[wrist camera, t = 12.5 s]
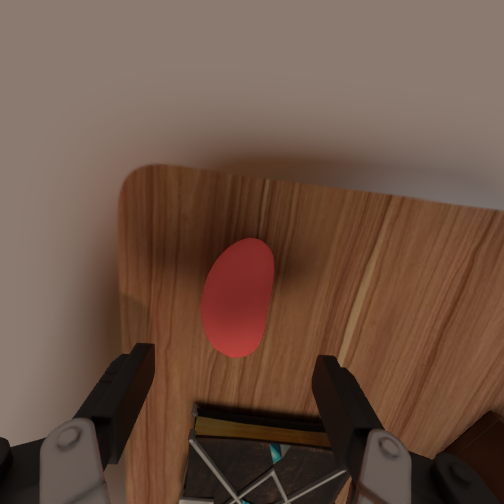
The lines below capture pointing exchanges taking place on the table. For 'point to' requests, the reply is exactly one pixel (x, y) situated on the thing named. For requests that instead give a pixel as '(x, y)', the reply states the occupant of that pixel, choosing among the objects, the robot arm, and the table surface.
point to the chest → (484, 451)
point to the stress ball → (238, 297)
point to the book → (259, 461)
